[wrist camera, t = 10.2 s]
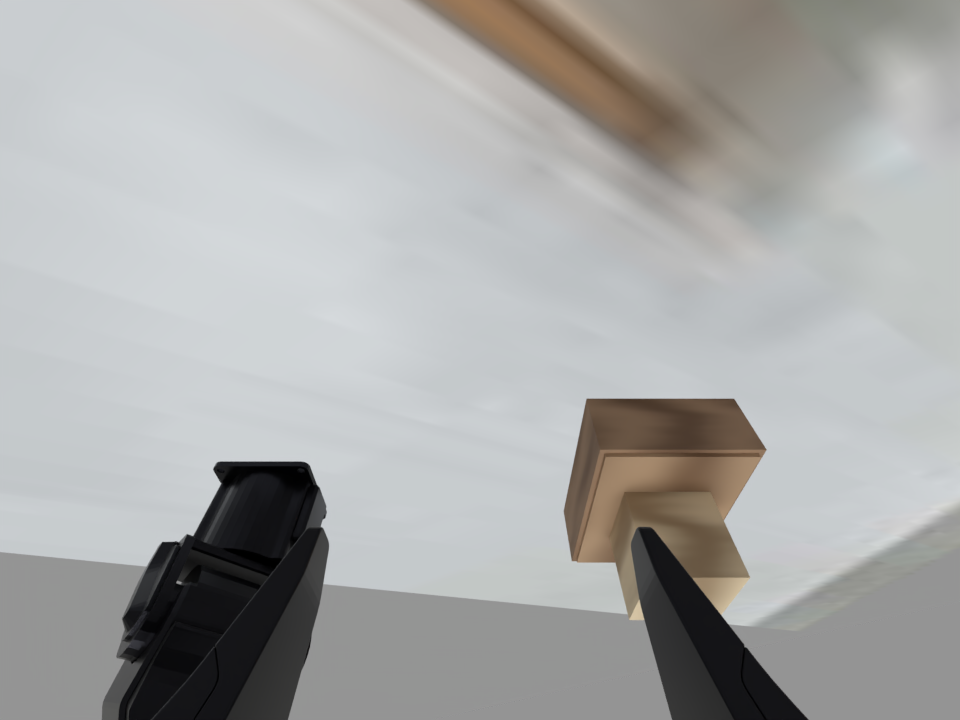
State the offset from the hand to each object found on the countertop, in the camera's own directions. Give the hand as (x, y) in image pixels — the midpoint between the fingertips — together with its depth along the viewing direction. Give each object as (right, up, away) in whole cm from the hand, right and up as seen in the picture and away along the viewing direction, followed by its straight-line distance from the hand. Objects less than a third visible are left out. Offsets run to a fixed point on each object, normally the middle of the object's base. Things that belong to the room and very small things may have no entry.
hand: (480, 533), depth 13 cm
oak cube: (+11, -5, +15) cm, 19 cm away
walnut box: (+11, -2, +18) cm, 21 cm away
